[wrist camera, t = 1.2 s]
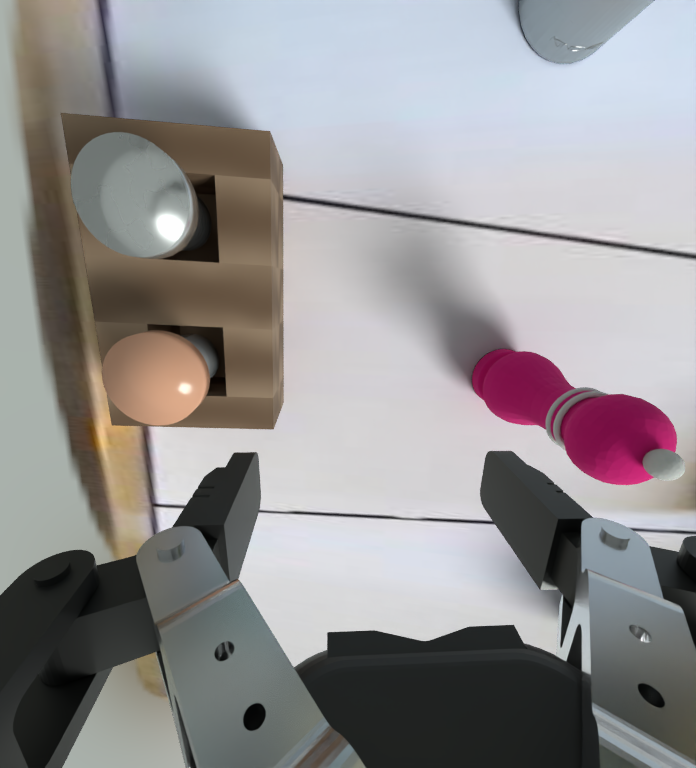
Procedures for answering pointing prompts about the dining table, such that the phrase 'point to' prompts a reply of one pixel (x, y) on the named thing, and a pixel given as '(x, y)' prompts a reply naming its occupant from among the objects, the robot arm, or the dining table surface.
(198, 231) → the steel plunger
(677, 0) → the dining table surface
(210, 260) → the button panel
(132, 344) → the terracotta plunger
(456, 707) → the robot arm
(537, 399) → the pepper mill
